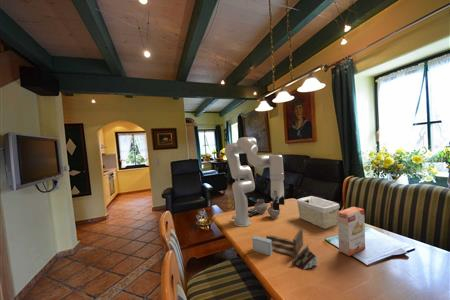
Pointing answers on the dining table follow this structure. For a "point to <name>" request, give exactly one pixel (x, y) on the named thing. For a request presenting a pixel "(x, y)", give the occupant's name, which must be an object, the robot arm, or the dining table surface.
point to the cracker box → (351, 230)
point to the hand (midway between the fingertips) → (279, 207)
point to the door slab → (262, 245)
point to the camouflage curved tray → (305, 259)
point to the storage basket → (318, 211)
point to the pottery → (262, 207)
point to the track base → (287, 244)
